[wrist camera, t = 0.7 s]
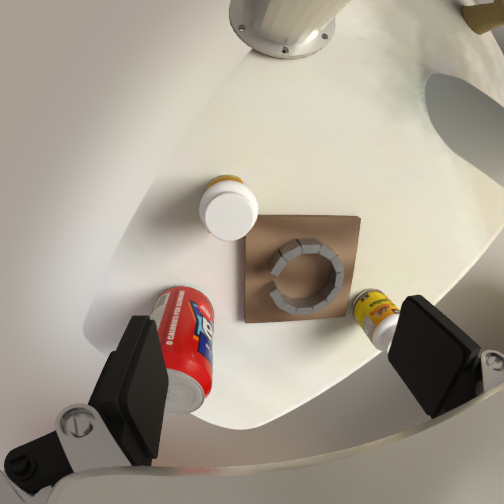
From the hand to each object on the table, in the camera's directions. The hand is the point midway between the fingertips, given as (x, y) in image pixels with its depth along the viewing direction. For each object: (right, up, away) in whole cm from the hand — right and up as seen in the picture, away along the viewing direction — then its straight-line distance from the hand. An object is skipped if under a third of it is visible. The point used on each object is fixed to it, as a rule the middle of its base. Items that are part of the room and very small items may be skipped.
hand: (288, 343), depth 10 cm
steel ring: (+5, +1, +25) cm, 25 cm away
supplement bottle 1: (-4, +9, +22) cm, 24 cm away
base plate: (+5, +1, +26) cm, 26 cm away
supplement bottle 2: (+16, -4, +29) cm, 33 cm away
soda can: (-10, -4, +27) cm, 29 cm away
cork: (+38, +45, +13) cm, 60 cm away
